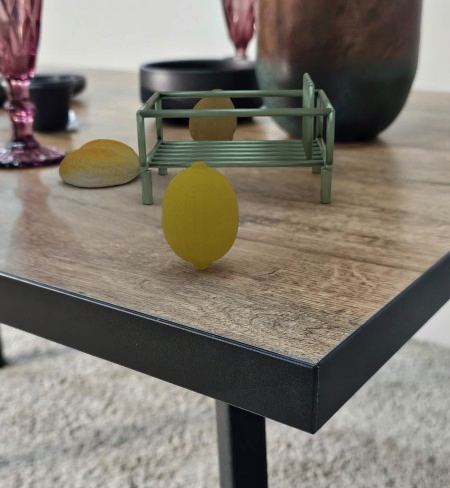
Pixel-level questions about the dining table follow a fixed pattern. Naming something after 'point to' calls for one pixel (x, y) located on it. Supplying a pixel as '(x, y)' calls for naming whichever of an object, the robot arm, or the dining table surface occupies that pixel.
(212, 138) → the potato
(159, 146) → the dish rack
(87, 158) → the bread roll
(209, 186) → the lemon
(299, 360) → the dining table surface
